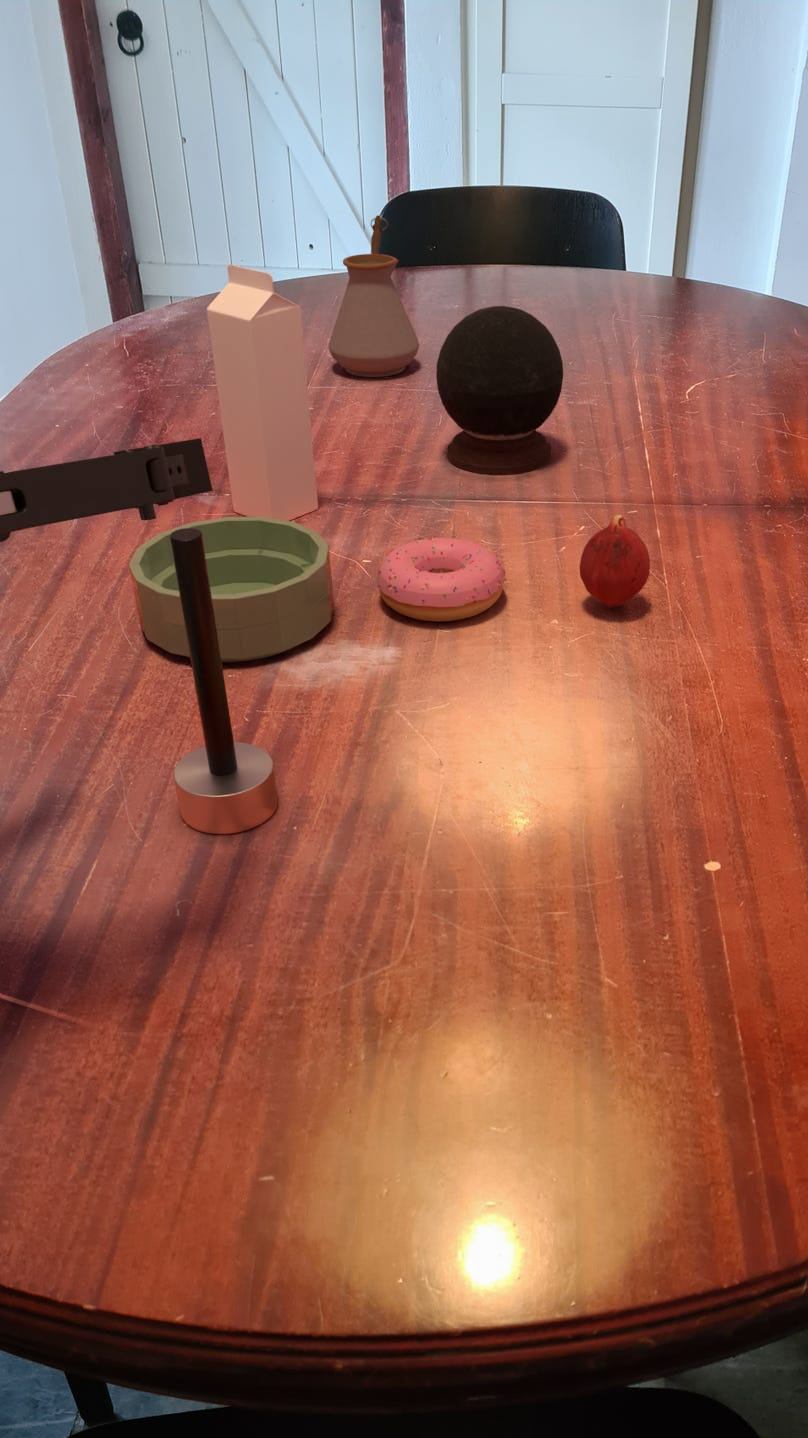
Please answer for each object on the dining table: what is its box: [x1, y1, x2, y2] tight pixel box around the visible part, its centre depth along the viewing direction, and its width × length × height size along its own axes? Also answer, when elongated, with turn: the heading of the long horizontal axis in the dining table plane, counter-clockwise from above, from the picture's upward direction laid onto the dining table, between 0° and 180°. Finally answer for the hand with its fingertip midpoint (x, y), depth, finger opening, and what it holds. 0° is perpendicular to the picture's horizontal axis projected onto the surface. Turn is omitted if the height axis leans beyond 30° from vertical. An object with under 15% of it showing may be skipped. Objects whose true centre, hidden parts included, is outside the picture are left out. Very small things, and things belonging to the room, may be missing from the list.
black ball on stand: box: [435, 305, 564, 476], centre depth 128 cm, size 13×13×15 cm
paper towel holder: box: [170, 528, 279, 835], centre depth 76 cm, size 6×6×19 cm
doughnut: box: [374, 535, 507, 622], centre depth 104 cm, size 11×11×4 cm
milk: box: [206, 264, 319, 521], centre depth 115 cm, size 6×6×22 cm
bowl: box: [128, 516, 335, 663], centre depth 101 cm, size 16×16×6 cm
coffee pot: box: [328, 215, 420, 378], centre depth 157 cm, size 21×12×15 cm, turn 179°
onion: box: [579, 514, 651, 609], centre depth 102 cm, size 6×6×8 cm
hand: (99, 481), depth 68 cm, fingers open, 13 cm apart
